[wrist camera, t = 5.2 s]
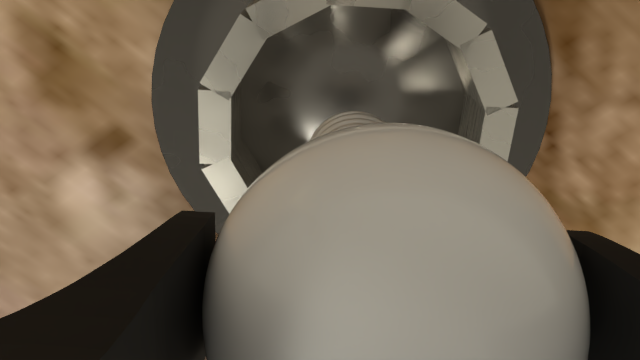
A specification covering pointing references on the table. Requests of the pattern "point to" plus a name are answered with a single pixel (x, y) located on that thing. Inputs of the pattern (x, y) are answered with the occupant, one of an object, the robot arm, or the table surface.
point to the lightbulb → (393, 255)
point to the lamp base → (339, 80)
